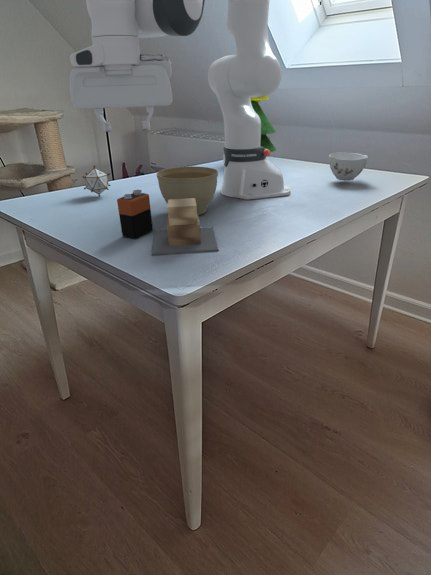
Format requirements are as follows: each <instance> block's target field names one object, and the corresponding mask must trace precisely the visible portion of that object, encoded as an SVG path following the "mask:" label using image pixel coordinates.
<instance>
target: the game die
mask: <svg viewBox="0 0 431 575" xmlns="http://www.w3.org/2000/svg"><path fill="white" fill-rule="evenodd" d="M110 175H111V173H110V172H109V173H106V172H104V171H102V170H100V169H98V168H96V165H93V168H92V169H91V170H90V171H89V172H88V173H87V172H85V176H82V178H83V179H84V183H85V184H84V185H85V186H84V187H83V190H86V189H87V190H88V191H90V193H94V194H97V195H98V197H99V198H100V197H101V194H102V193H103V192H105V191H108V190H109V187H111V184H110V183H109V176H110Z"/></svg>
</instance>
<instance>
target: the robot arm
mask: <svg viewBox="0 0 431 575" xmlns="http://www.w3.org/2000/svg"><path fill="white" fill-rule="evenodd" d="M205 1H206V0H85V3H86V9H87V13H88V15H89V18H90V21H91V32H90V33H91V43H92V45H89V46H88V47H85V48H83V49H80V50H78V51H74V52H73V53H71V54H70V56H69V61H70V64H71V66H73V67H74V68H73V69H71V71H70V73H69V78H68V79H69V92H70V100H71V104H72V105H73V107H74V108H75V109H76V110H89V109H91V110H92V109H94V113H95V114H94V115H95V116H96V117H97V120H98V121H99V122H100V123H101V124H102V131H103V133H111V132H112V131H113V130H112V127H111V126H112V124H111V122H110V121H108V122H107V121H106V119H105V117H104V116H103V114H104V109H113V108H115V109H116V108H117V109H118V108H141V107H143V108H144V107H145V110H146V113H148V116H147V117H146V120H142V121H141V125H142V131H151V124H150V123H151V119H152V117H153V114H154V111H155V110H154V109H155V108H154V107H167V106H170V105H171V104H172V103H173V102H174V101H173V100H174V98H173V90H172V85H171V82H170V79H171V78H172V76H173V64H172V61H171V60H170V59H169V57H167V56H164V54H162V53H156V54H141V50H140V49H141V48H140V39H148V38H159V37H160V38H162V37H170V36H172V37H187V36H191V35H192V34H194V32H195V31H196V30H197V28H198V26H199V25H200V23H201V20H202V18H203V14H204V8H205ZM269 9H270V0H228V2H227V19H226V27H227V30H228V32H229V33H230V34H231V35H232V36H233V39H234V41H235V46H236V54H231V55H224V56H223V57H220V58H218V59H216V60H214V61H213V62H212V63H211V64H210V66H209V67H208V72H207V82H208V85H209V88H210V90H212V91H213V93H214V94H215V96H216V98H217V101H218V103H219V107H220V110H221V113H222V118H223V128H224V147H223V152H222V155H223V156H222V157H223V159H222V160H223V161H222V162H223V165H224V171H223V181H222V186H221V190H220V194H222V195H223V196H226V197H229V198H230V197H231V198H238V199H241V200H246V201H247V200H253V199H255V200H256V199H257V200H258V199H264V198H274V197H281V196H289V195H290V194H291V188H290V186H289V185H287V184H285V183H284V176H283V173H282V171H281V170H280V169H279V168H278V167H277V166H276V165H274V164H273V163H272V162H271V161H269V159H267V157H270V155H271V153H272V152H270V150H268V149H265V148H263V147H262V146H260V143H261V120H260V117H259V116H258V115H257V114H256V112H255V111H254V109H253V107H252V104H251V100H250V97H253V98H258V97H262V96H269V95H271V94H273V93H275V92H276V91H277V89H278V88H279V86H280V83H281V81H282V67H281V64H280V61H279V59H278V58H277V57H276V56H275V55H274V53H273V50H272V49H271V48H272V47H271V44H270V40H269V32H268V29H269V28H268V27H269V26H268V24H269V13H270V12H269V11H270V10H269Z"/></svg>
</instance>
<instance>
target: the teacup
mask: <svg viewBox="0 0 431 575" xmlns="http://www.w3.org/2000/svg"><path fill="white" fill-rule="evenodd" d="M367 161H368V155H366V154H362V153H356V152H344V151H343V152H341V151H339V152H333V153H330V154H329V155H328V162H329V168H330V171H331V172H332V174H333V175H334V176H335V178H336V179H337V180H339V181H346V182H348V181H354V180H355V178H357V177H358V176H359V175H360V174H361V173H362V171H363V170H364V169H365V167H366V164H367V163H368V162H367Z"/></svg>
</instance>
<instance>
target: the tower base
mask: <svg viewBox="0 0 431 575" xmlns="http://www.w3.org/2000/svg"><path fill="white" fill-rule="evenodd" d="M166 219H167V220H166V230H167V232H168V243H169V246H181V245H197V244H201V237H200V228H201V224H200V218H199V215H197V224H188V225H172V226H169V216H167V218H166Z"/></svg>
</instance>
